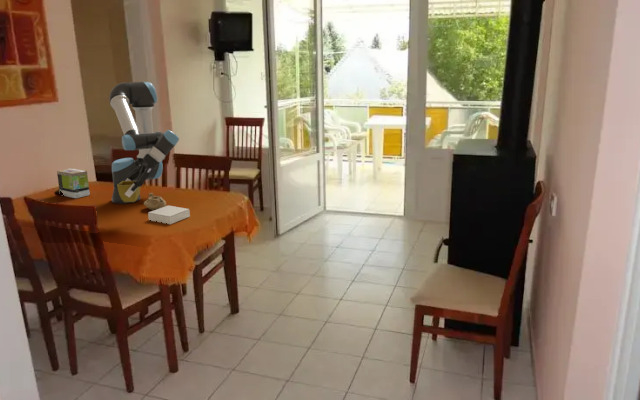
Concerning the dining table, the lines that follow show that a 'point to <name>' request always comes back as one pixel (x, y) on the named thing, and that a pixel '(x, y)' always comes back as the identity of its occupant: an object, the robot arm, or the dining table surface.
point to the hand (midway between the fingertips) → (123, 193)
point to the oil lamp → (154, 202)
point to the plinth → (169, 214)
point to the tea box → (73, 183)
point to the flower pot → (123, 189)
